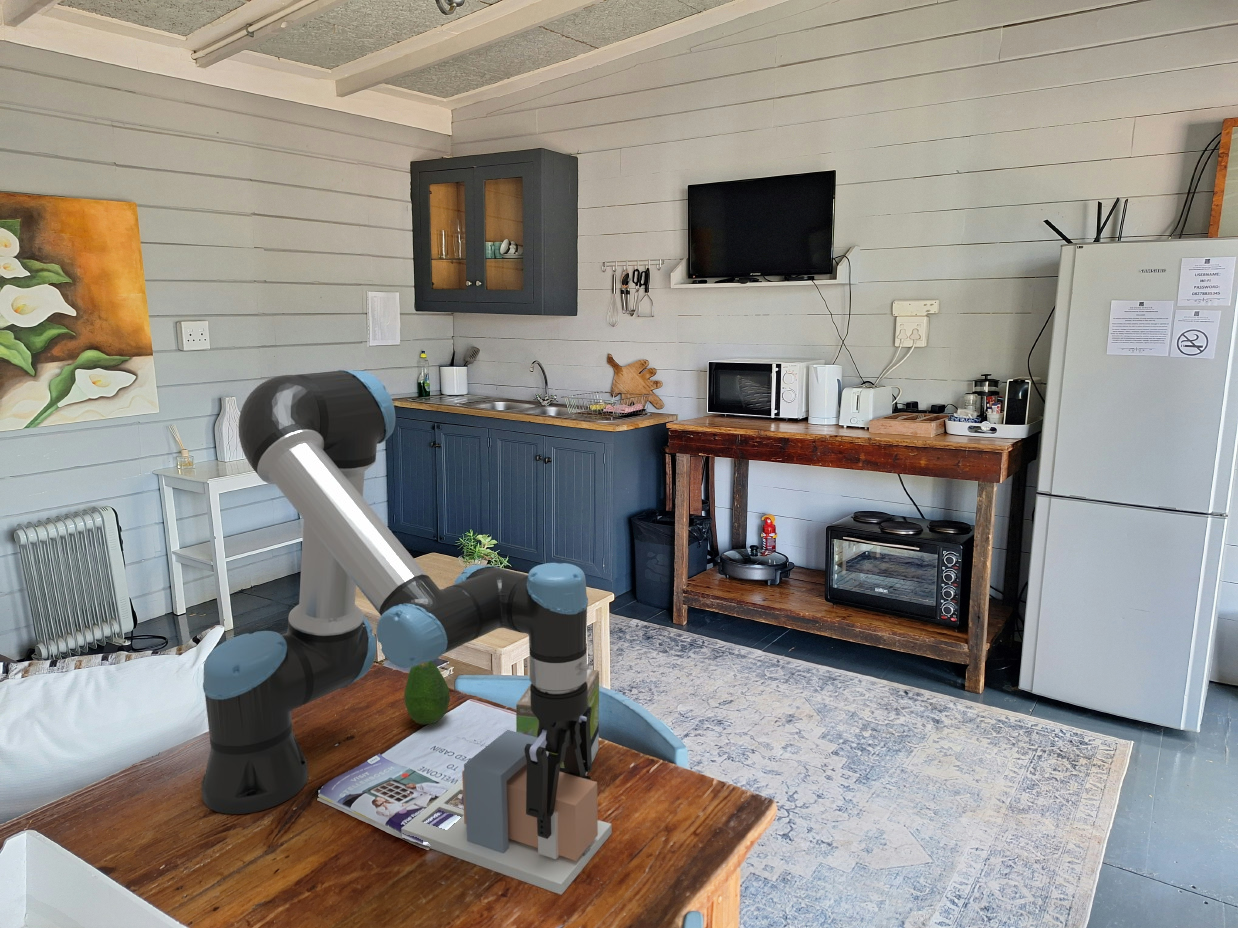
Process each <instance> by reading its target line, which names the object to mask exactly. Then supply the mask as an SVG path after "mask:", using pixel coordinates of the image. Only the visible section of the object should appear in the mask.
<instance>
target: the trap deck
mask: <svg viewBox="0 0 1238 928" xmlns="http://www.w3.org/2000/svg"><path fill="white" fill-rule="evenodd" d="M537 739H538V738H537V737H533V736H529V735H526V734H522V733H518V732H516V731H513V730H510V729H506V730H505V731H504V732H503V733H502V734H500V735H499V736H498V737H496V738H495V739H494V740H492V742H490V743H489V744H488V745H486V746H485V747H484V748H482V749H481V750H480V751H479V752H478V753H476V754H475V755H474V756H472V757H471V758H470V759H469V760H467V761H466V762H465V763H464V764H463V770H464V779H465V803H466V824H464V810H463V809H460V808H457V807H454V806H451V805H448V803H449V802H450V801H452V800H453V799H454V798H455V797H457V796H458V795H459V794H463V779H462V778H461V779H460V780H459V781H458V782H456V783H455V784H454V785H452V787H450V788H448V790H447V791H445V792H444V793H443V794H441V795H440V796H439V797H438V798H436V799H435V800H434V801H433V802H432V803H430V804H429V805H428V806H427V807H426V808H424V809H423V810H422V811H420V812H419V813H418V814H417V815H416V816H415V817H413V818H412V819H411V820H410V821H408V822H407V823H405V825H404V826H402V827H401V828H400V830H401V834H402V833H404V834H406V835H410V836H414V837H417V838H419V839H421V840H423V841H424V842H428V843H429V844H430V845H431V846H430V848H429V849H432V850H434V851H437V852H440V853H442V854H446V855H448V856H452V857H454V858H456V859H460V860H463V861H466V862H468V863H471V864H473V865H477V866H480V867H481V868H485V869H488V870H490V871H493V872H496V873H499V874H502V875H504V876H508V877H509V878H513V879H515V880H519V881H520V882H521V881H522V882H524V883H527V884H530V885H532V886H535V887H538V888H541V889H544V890H546V891H550V892H553V893H554V894H555V893H556V894H558V895H560V896H561V895H563V894H564V892H565V891H566V890H567V889H568V888H569V886H570V885H571V884H572V883H573V881H574V880H575V879H576V878H577V876H578V875H579V874H580V873H581V872H582V871H583V869H584V868H585V867H586V865H587V864H588V863H589V862H590V861H591V859H592V858H593V857H594V856H595V855H596V853H597V852H598V851H599V850H600V848H601V847H602V846H603V845H604V843H605V842H606V841H607V840H608V838H609V837H610V836H611V835H612V823H610V822H606V821H603V820H599V819H598V835H597V837H596V838H595V839H594V840H593V841H592V843H591V844H590V845H589V846H588V847H587V849H586V850H585V851H584V852H583V853H582V854H581V856H580V857H579V858H578V859H577V860H576V861H575V860H572V859H569V858H566V857H563V856H560V855H559V856H558V857H557V859H553V858H550V857H547V856H544V855H541V854H538V848H536V847H533V846H530V845H527V844H524V843H521V842H518V841H515V840H512V839H509V838H508V813H507V780H508V779H509V778H511V777H512V776H513V775H514V774H515V773H516V772H517V771H518V770H520V769H521V768H522V767H523V766H524V765H525V764H526V763H527V760H526V756H525V751H524V749H525V746H526V744H532V745H533V744H534V743H535V741H536V740H537ZM438 810H441V811H444V812H447V813H450V814H453V815H457V816H460V817H461V818H460V819H459V820H458V821H457V822H456V823H454V824H453V825H452V826H451V827H450V828H449V829H448V830H445V829H442V828H439V827H436V826H433V825H430V824H427V823H424V821H426V820H427V819H428V818H430V817H431V816H432V815H434V814H435V813H436V812H437V811H438Z"/></svg>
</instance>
